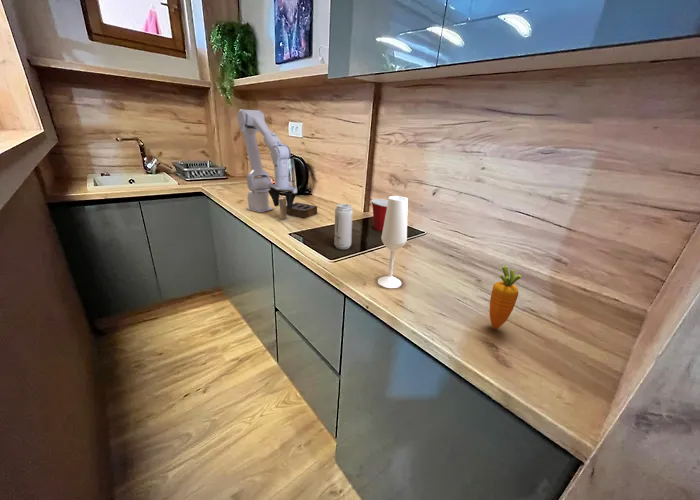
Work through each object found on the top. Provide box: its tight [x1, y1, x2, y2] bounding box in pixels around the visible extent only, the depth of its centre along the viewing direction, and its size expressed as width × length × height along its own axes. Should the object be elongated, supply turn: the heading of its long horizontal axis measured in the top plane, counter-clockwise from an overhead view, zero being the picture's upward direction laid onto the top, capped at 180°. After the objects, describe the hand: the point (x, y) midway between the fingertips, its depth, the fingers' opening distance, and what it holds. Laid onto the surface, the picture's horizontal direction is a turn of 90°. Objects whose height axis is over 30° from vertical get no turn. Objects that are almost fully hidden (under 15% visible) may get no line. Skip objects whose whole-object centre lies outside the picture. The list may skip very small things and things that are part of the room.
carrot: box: [489, 265, 522, 330], centre depth 65 cm, size 5×5×15 cm
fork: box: [279, 197, 288, 221], centre depth 133 cm, size 1×4×9 cm, turn 151°
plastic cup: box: [370, 198, 388, 232], centre depth 125 cm, size 11×11×12 cm
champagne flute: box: [377, 195, 409, 289], centre depth 81 cm, size 7×7×24 cm
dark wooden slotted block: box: [286, 201, 318, 219], centre depth 143 cm, size 12×10×4 cm
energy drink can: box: [333, 203, 354, 250], centre depth 105 cm, size 6×6×15 cm
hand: (283, 207), depth 133 cm, fingers open, 7 cm apart
